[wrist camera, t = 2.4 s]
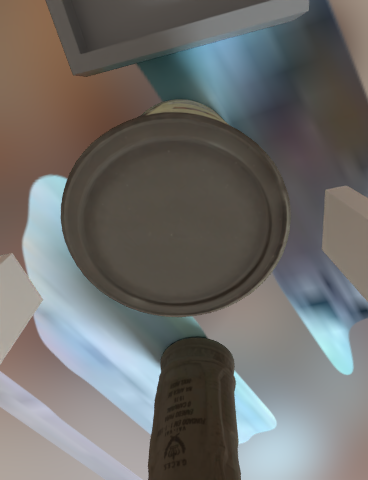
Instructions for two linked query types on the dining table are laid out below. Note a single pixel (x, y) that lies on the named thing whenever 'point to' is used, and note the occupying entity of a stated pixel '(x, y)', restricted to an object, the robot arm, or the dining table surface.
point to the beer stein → (195, 414)
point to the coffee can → (175, 212)
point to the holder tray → (156, 27)
